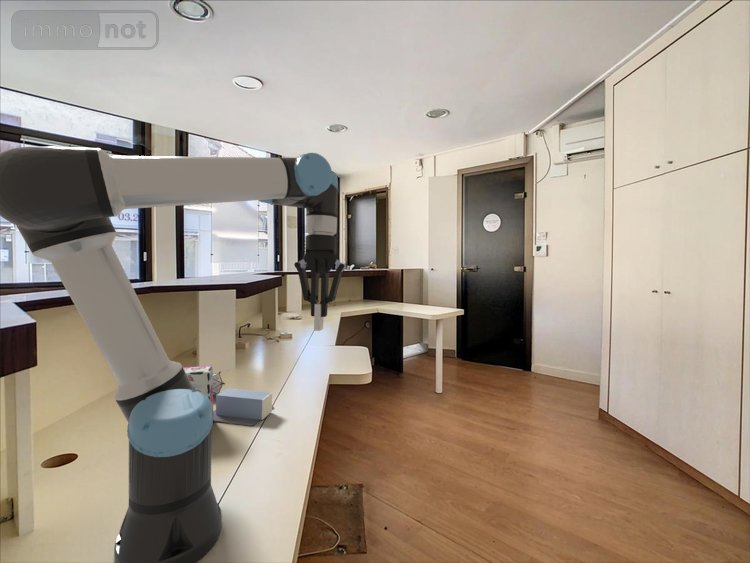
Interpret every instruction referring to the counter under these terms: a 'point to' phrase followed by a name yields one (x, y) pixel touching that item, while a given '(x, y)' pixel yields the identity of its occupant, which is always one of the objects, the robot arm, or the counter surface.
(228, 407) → the plain blue-gray rectangular block
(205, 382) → the candy bar box
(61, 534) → the counter surface
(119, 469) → the counter surface
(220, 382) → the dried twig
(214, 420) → the mat
